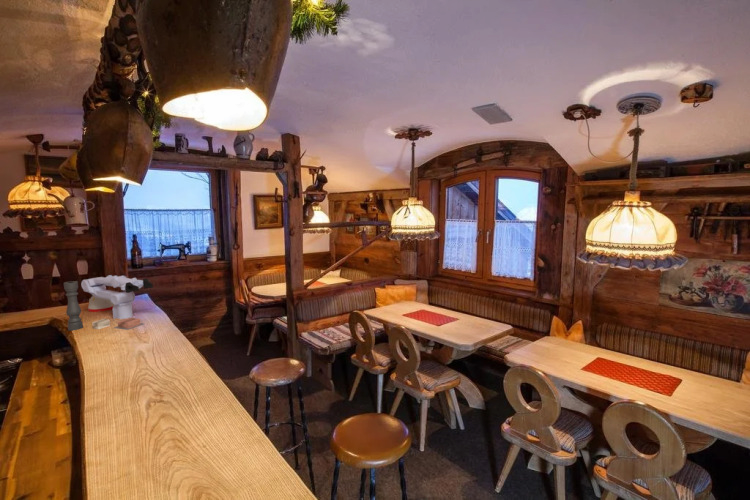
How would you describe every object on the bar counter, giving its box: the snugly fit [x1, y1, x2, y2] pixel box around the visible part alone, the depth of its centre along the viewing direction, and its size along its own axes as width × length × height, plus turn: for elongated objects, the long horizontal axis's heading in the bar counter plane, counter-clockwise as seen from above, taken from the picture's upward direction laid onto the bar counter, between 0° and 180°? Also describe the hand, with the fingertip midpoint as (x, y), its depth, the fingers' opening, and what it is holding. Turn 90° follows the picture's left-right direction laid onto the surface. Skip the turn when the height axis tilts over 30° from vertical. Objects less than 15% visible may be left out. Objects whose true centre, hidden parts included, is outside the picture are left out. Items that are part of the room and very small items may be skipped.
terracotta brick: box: [117, 317, 141, 329], centre depth 196 cm, size 7×7×3 cm
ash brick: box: [91, 318, 111, 330], centre depth 194 cm, size 4×6×5 cm, turn 162°
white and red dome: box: [87, 295, 115, 313], centre depth 234 cm, size 14×14×15 cm
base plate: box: [113, 322, 144, 331], centre depth 197 cm, size 10×10×2 cm
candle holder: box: [63, 280, 84, 332], centre depth 195 cm, size 6×6×25 cm
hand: (145, 287), depth 202 cm, fingers open, 7 cm apart
